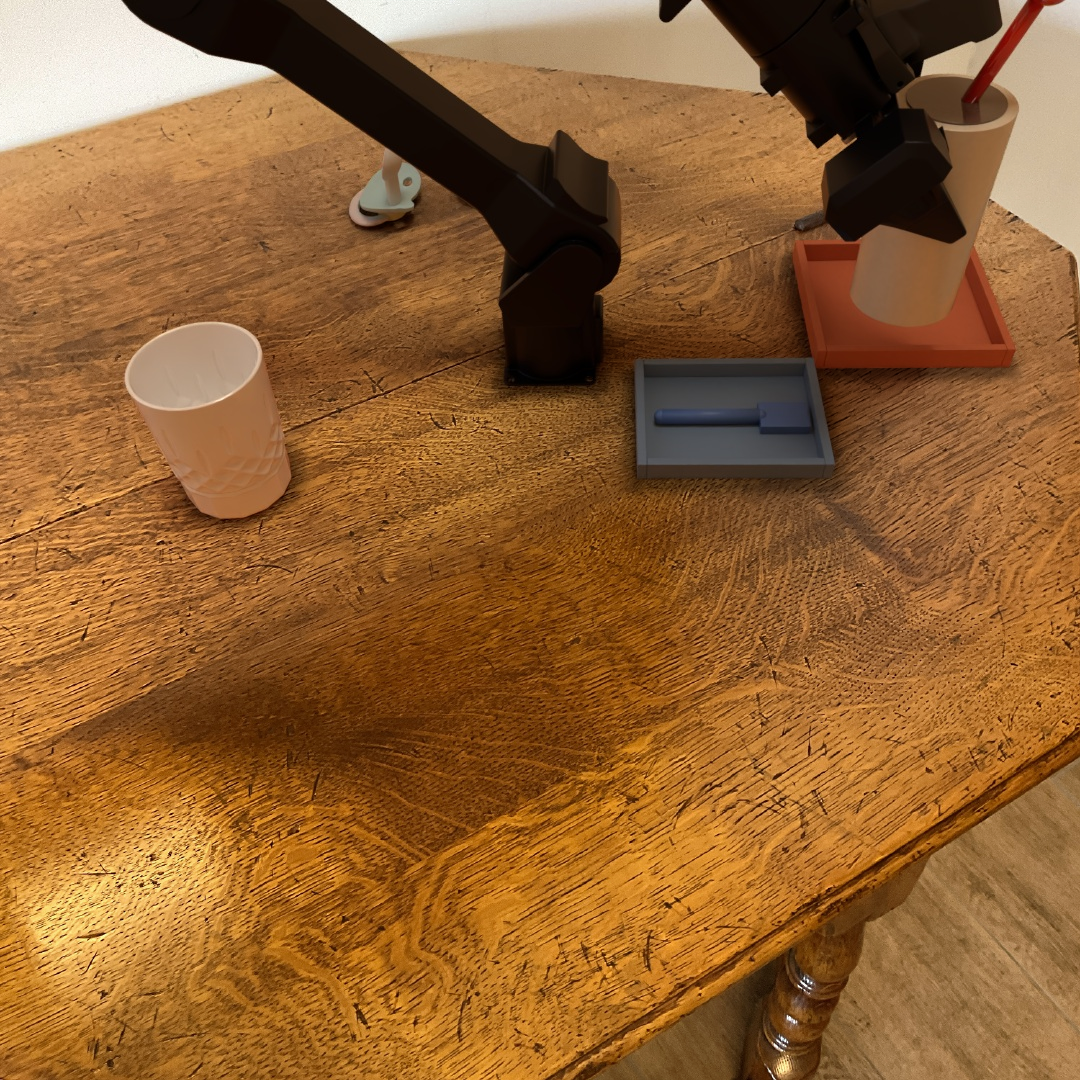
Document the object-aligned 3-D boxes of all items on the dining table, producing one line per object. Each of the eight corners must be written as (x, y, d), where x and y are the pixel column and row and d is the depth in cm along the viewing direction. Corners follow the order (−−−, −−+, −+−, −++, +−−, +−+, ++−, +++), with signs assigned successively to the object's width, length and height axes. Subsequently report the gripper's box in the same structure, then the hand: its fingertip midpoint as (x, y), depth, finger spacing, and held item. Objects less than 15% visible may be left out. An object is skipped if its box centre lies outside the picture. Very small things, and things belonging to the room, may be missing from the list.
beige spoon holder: (853, 325, 63) (937, -20, 48) (845, 264, 68) (921, -72, 52) (975, 330, 63) (1103, -20, 47) (960, 267, 67) (1072, -73, 51)
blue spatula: (654, 434, 66) (654, 423, 65) (653, 409, 67) (653, 398, 67) (809, 434, 65) (811, 423, 64) (804, 409, 67) (807, 397, 66)
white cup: (197, 544, 62) (141, 428, 55) (167, 466, 67) (111, 348, 59) (317, 498, 64) (279, 379, 57) (279, 425, 69) (239, 306, 61)
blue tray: (636, 483, 64) (637, 464, 63) (634, 377, 70) (634, 358, 69) (830, 483, 63) (835, 464, 62) (809, 376, 70) (813, 357, 68)
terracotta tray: (813, 373, 70) (818, 350, 68) (791, 262, 78) (795, 239, 77) (1007, 371, 69) (1016, 349, 67) (963, 259, 77) (971, 237, 76)
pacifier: (342, 234, 84) (412, 234, 83) (324, 165, 79) (398, 164, 78) (361, 187, 88) (427, 186, 88) (345, 119, 84) (414, 117, 83)
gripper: (958, -34, 42) (1129, 209, 49) (907, -173, 54) (1051, 39, 61) (746, 140, 49) (923, 331, 56) (742, -17, 61) (889, 157, 68)
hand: (950, 205), depth 60 cm, fingers closed on beige spoon holder, 6 cm apart
